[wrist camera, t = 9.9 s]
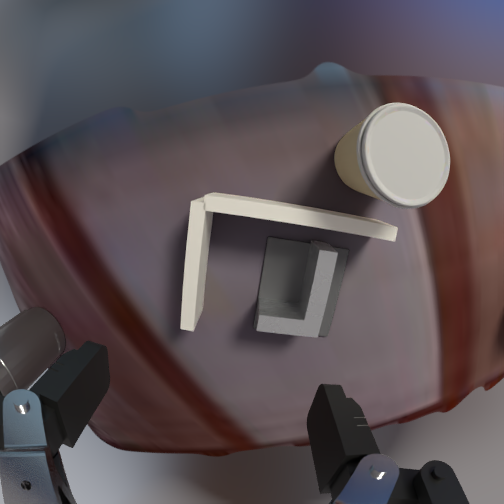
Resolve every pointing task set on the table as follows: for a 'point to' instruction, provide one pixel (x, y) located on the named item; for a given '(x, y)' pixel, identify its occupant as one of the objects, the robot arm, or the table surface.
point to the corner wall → (264, 210)
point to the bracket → (302, 298)
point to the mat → (296, 275)
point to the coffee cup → (395, 156)
